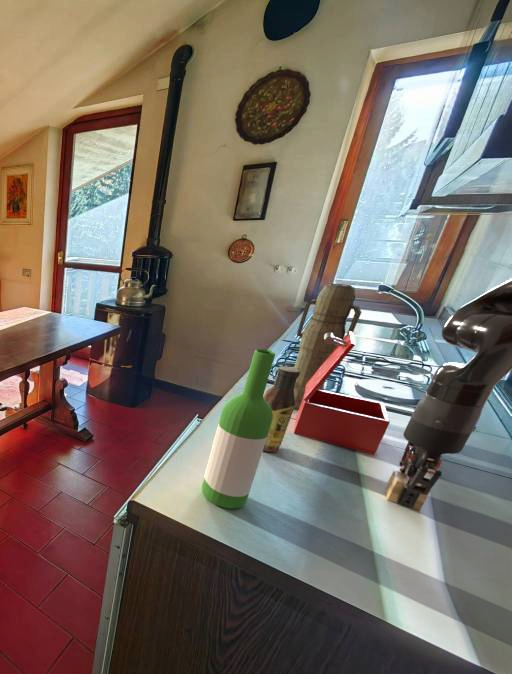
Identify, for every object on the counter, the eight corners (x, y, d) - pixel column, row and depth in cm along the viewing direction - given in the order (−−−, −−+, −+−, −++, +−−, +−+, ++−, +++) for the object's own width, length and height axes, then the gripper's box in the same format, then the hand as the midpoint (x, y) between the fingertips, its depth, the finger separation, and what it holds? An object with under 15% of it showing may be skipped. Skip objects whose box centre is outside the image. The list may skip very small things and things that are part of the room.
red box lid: (352, 333, 96) (330, 324, 98) (355, 344, 87) (330, 334, 89) (308, 386, 105) (289, 377, 107) (307, 401, 96) (285, 391, 98)
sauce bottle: (272, 456, 89) (299, 376, 82) (243, 444, 94) (267, 368, 86) (283, 447, 93) (311, 370, 85) (255, 436, 98) (279, 362, 90)
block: (415, 497, 77) (426, 478, 75) (419, 510, 73) (430, 490, 71) (384, 488, 79) (393, 469, 77) (387, 500, 76) (396, 480, 74)
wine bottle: (231, 485, 79) (273, 344, 68) (254, 511, 72) (305, 359, 61) (193, 484, 79) (229, 344, 68) (212, 511, 72) (256, 359, 60)
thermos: (321, 416, 108) (369, 289, 95) (272, 403, 116) (310, 283, 102) (326, 407, 114) (372, 285, 101) (279, 394, 122) (316, 280, 108)
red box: (370, 433, 100) (383, 403, 96) (374, 455, 91) (390, 421, 87) (296, 415, 109) (306, 387, 105) (293, 433, 99) (304, 402, 96)
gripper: (485, 444, 62) (436, 527, 69) (462, 413, 73) (422, 487, 79) (419, 430, 66) (380, 509, 73) (407, 402, 77) (373, 473, 83)
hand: (402, 497), depth 76 cm, fingers closed on block, 4 cm apart
